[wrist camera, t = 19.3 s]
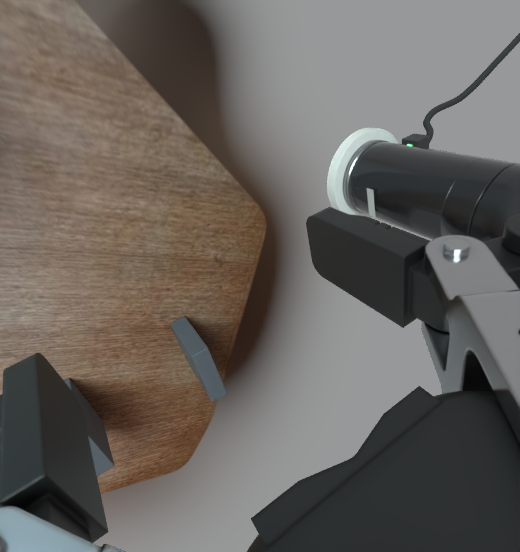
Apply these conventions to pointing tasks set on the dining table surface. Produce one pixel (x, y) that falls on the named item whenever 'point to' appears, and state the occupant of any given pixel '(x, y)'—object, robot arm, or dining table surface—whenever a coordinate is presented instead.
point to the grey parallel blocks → (198, 362)
